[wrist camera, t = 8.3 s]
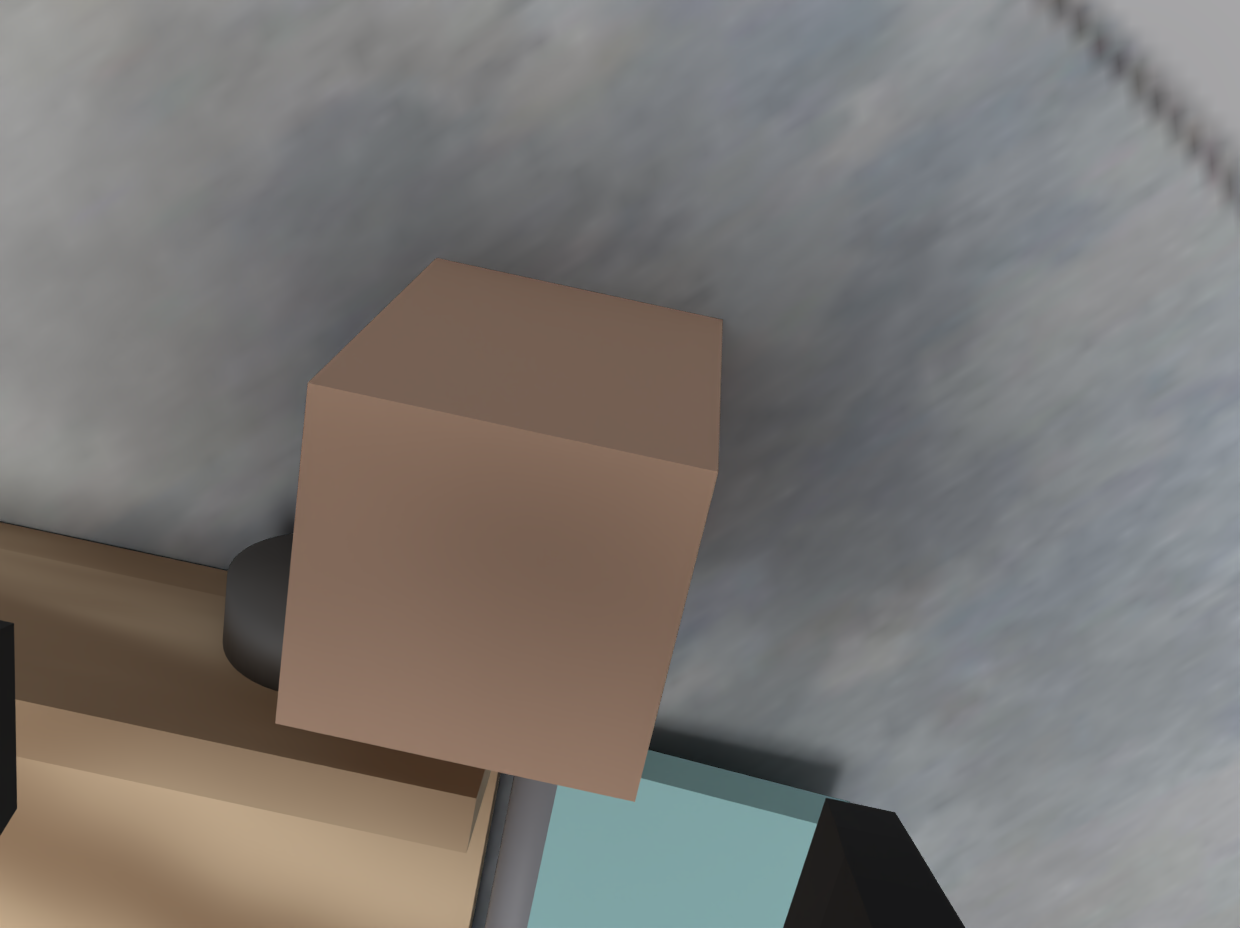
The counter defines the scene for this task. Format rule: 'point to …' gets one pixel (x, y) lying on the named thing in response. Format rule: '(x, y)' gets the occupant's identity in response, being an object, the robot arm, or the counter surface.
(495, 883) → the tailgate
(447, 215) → the counter surface
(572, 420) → the tan rectangular block
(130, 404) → the counter surface
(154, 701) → the flatbed
